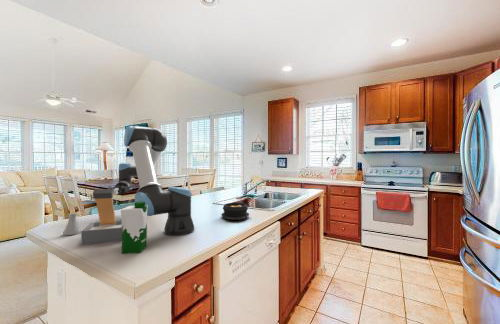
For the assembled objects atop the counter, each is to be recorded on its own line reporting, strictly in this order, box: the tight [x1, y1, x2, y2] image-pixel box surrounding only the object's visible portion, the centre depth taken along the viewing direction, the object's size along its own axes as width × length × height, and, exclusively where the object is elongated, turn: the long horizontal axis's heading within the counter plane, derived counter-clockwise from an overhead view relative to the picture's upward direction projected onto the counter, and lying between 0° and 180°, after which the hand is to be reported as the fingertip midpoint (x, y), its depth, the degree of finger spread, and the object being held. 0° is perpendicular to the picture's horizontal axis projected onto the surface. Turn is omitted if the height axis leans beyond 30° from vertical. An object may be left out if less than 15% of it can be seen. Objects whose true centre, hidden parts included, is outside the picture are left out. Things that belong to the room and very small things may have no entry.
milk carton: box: [120, 201, 148, 255], centre depth 94 cm, size 9×9×20 cm
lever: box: [92, 188, 117, 225], centre depth 104 cm, size 3×7×20 cm
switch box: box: [80, 218, 122, 246], centre depth 110 cm, size 14×18×8 cm
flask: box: [62, 212, 82, 236], centre depth 115 cm, size 7×7×10 cm
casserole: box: [220, 202, 250, 221], centre depth 150 cm, size 25×19×8 cm
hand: (114, 191), depth 123 cm, fingers closed
